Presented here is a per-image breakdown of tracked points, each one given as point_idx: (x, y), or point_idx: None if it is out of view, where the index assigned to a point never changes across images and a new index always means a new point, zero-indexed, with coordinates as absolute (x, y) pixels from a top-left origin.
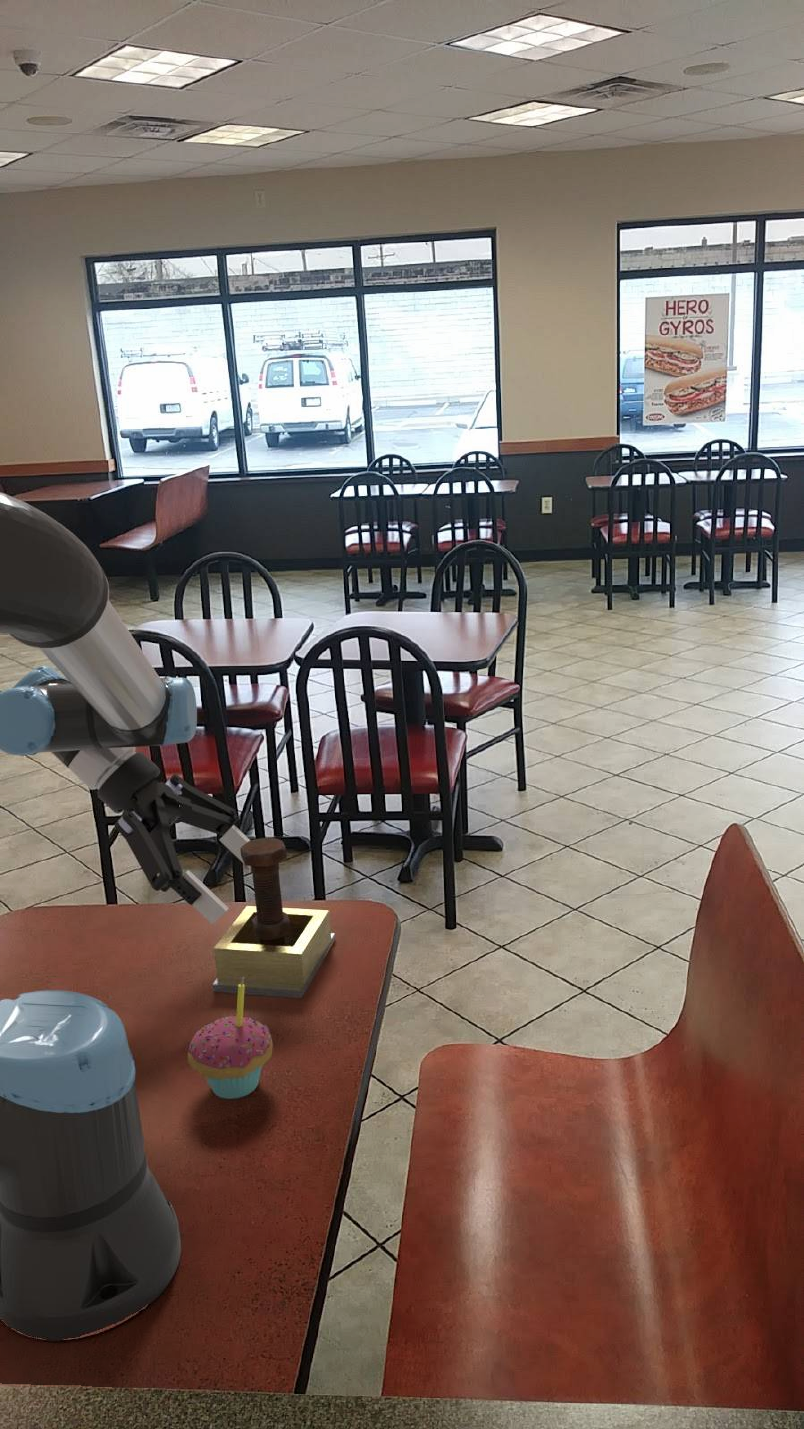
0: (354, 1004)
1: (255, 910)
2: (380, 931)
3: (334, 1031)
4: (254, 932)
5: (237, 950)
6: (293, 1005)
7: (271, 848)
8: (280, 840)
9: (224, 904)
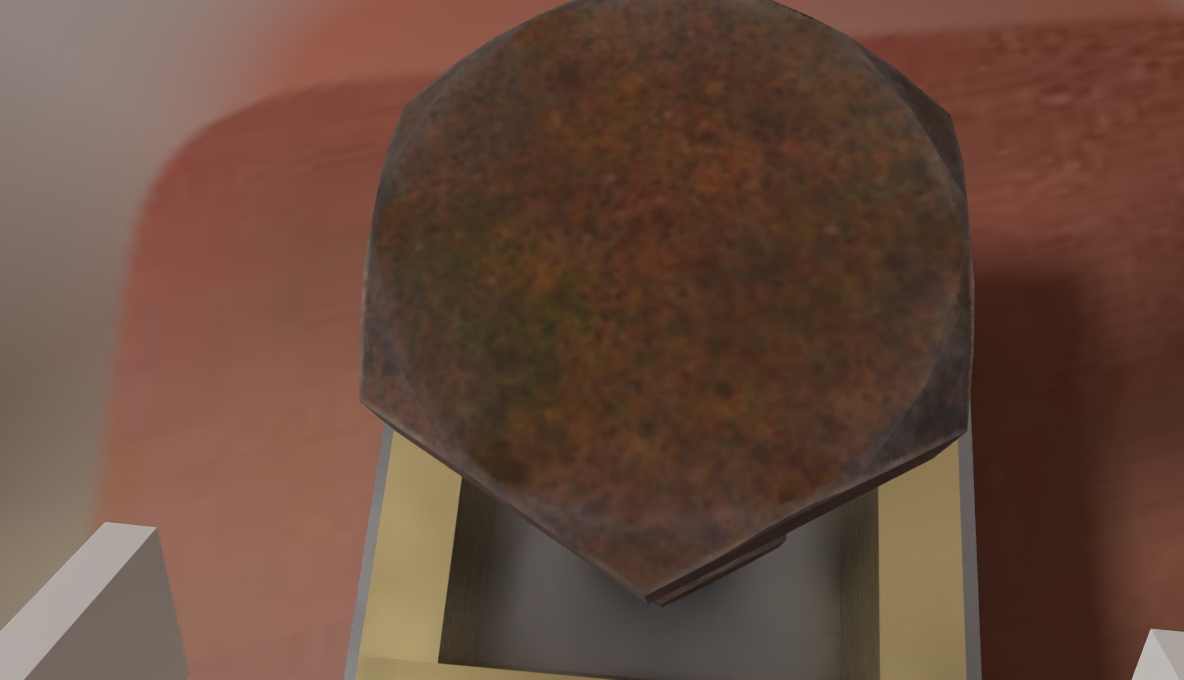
0: (957, 89)
1: (416, 657)
2: (340, 109)
3: (1173, 119)
4: (741, 566)
5: (962, 622)
6: (1015, 329)
7: (746, 98)
8: (476, 64)
9: (1179, 669)
